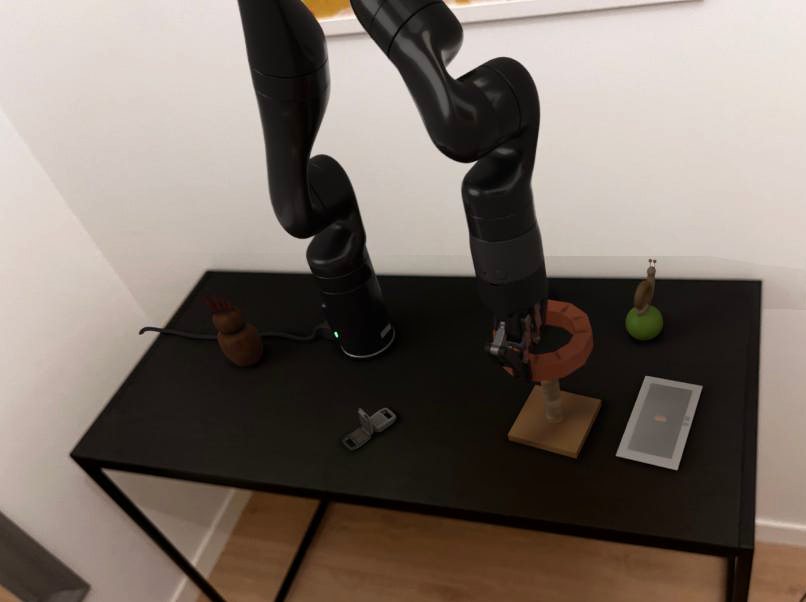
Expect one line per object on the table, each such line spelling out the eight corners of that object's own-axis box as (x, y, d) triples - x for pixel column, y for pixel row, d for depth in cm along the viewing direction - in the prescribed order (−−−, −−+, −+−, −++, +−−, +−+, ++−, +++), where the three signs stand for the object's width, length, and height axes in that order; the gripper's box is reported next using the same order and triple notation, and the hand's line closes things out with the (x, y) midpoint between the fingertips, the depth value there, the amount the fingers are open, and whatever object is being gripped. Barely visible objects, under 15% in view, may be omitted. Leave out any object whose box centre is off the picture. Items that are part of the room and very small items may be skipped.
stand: (508, 440, 99) (498, 390, 92) (536, 390, 105) (528, 339, 98) (576, 458, 95) (571, 408, 88) (601, 405, 101) (598, 353, 94)
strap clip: (387, 409, 108) (380, 390, 105) (398, 419, 106) (391, 400, 103) (341, 442, 105) (332, 423, 102) (352, 452, 103) (343, 434, 100)
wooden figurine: (225, 368, 123) (186, 302, 113) (243, 345, 126) (207, 279, 116) (256, 373, 120) (220, 306, 110) (274, 350, 124) (240, 283, 114)
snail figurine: (670, 324, 110) (671, 261, 101) (655, 351, 106) (655, 288, 98) (636, 316, 112) (635, 255, 104) (620, 342, 109) (618, 281, 101)
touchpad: (615, 460, 93) (615, 450, 92) (645, 381, 102) (645, 370, 101) (677, 475, 90) (677, 465, 88) (702, 391, 99) (703, 380, 97)
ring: (481, 369, 89) (477, 354, 87) (519, 309, 96) (516, 294, 94) (571, 389, 84) (570, 374, 82) (605, 324, 91) (604, 308, 89)
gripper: (503, 218, 81) (522, 330, 93) (447, 292, 73) (476, 405, 85) (565, 225, 77) (576, 341, 89) (514, 304, 69) (534, 420, 81)
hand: (527, 372), depth 87 cm, fingers closed on ring, 2 cm apart
